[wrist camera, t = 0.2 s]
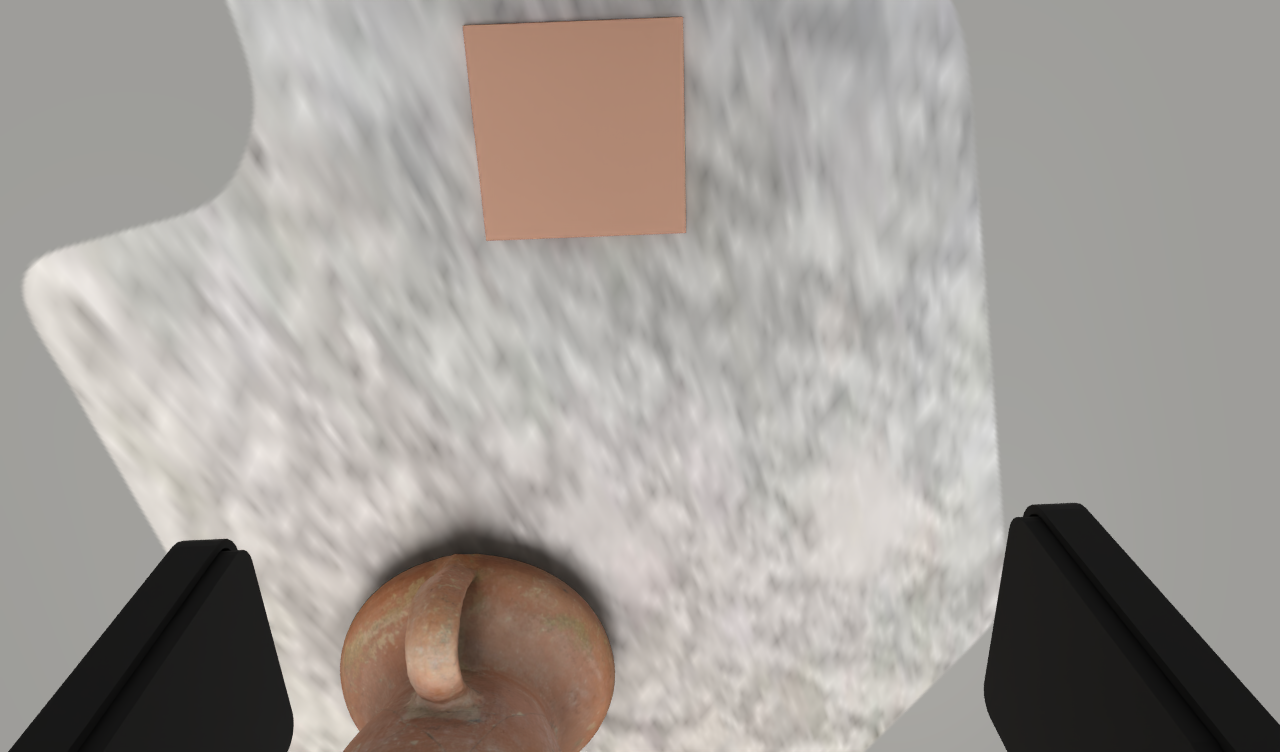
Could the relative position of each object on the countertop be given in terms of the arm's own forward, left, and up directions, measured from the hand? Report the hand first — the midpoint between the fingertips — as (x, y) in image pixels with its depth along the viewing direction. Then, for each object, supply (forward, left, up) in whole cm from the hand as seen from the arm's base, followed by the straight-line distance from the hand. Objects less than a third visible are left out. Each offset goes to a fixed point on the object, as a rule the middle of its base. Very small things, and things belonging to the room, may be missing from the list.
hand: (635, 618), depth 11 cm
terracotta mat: (-1, -2, -30) cm, 30 cm away
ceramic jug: (+26, -9, -31) cm, 41 cm away
